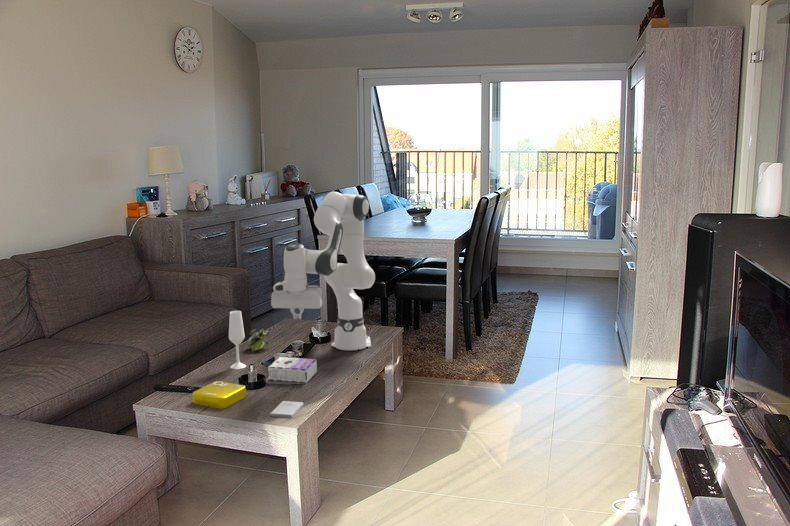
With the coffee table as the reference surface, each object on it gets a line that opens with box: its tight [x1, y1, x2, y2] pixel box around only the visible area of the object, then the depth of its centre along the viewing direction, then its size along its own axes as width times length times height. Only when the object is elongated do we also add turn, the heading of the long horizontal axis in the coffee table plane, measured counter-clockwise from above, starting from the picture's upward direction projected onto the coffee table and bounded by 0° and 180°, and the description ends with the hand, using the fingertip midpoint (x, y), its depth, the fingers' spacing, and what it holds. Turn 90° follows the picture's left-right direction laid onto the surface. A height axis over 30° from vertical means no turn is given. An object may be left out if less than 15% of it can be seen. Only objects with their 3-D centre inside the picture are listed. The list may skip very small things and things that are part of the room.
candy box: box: [267, 356, 318, 384], centre depth 284 cm, size 14×6×16 cm
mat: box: [265, 376, 306, 386], centre depth 284 cm, size 16×17×1 cm
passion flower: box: [247, 328, 271, 353], centre depth 323 cm, size 11×11×12 cm
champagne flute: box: [228, 310, 247, 370], centre depth 296 cm, size 7×7×24 cm
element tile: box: [191, 380, 247, 409], centre depth 260 cm, size 15×15×5 cm
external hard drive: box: [269, 400, 304, 419], centre depth 249 cm, size 2×8×12 cm
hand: (297, 318), depth 279 cm, fingers closed
